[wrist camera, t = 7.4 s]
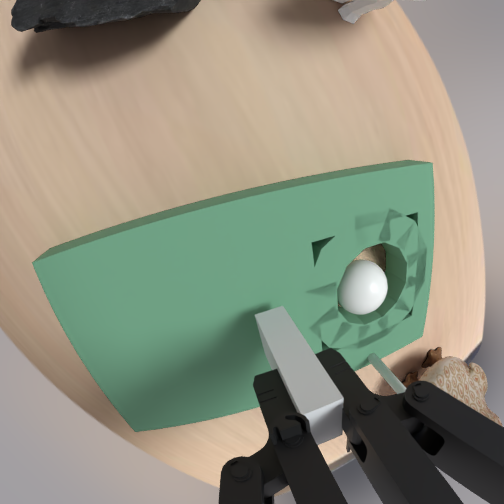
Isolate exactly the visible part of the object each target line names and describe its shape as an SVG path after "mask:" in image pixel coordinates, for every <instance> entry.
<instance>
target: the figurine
mask: <svg viewBox="0 0 504 504" xmlns="http://www.w3.org/2000/svg"><path fill="white" fill-rule="evenodd" d="M441 351H442V350H441V347H439V348H437V350H436V351H434V350H430V351H429V352H428V358H427V360H426V361H425V362H424V363H423V365H422V367H423V368H426V367H430V368H429V369H427V370H426V371H425V372H424V374H423V375H422V376H421V378H420V379H419V380H420V381H427V382H430V383H432V384H433V385H435V386H437V387H438V388H440V389H441V390H443V391H445V392H446V393H448V394H450V395H451V396H453V397H454V398H456V399H458V400H459V401H461V402H463V403H464V404H466V405H467V406H469V407H471V408H472V409H474V410H476V411H477V412H479V413H481V414H482V415H484V416H486V417H487V418H489V419H491V420H492V421H494V422H496V423H497V424H499V425H501V426H502V423H501V421H500V419H499V417H498V416H497V415H496V414H494V413H493V412H491V411H490V409H488V407H487V405H486V402H485V399H484V395H485V393H486V391H487V379H486V375H485V373H484V371H483V370H482V368H481V367H480V366H479V365H477V364H475V363H470V364H469V366H468V365H467V364H466V363H465V362H464V361H462V360H461V359H459V358H456V357H451V356H449V357H445V358H442V357H441ZM469 367H470V368H469ZM417 375H418V372H414V373H413V374H411V373H409V374H408V375H407V376H406V380H405V381H404V382H403V383H402V384H403V385H404V386H405V387H406V388H407V387H408V385H410V384H411V383H413V382H416V381H419V380H418V379H417ZM502 427H503V426H502Z"/></svg>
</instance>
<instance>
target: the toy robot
mask: <svg viewBox="0 0 504 504" xmlns="http://www.w3.org/2000/svg"><path fill="white" fill-rule="evenodd" d="M334 1H337V2H339V3H344V2H347V1H349V0H334ZM392 1H394V0H353V1H351V2H349V3H347V4H345V5H343V6H342V7H341V8H340V9H339V10H338V11H339V13H340V15H341V17H342V19H343V20H345V21H348V22H350V23H353V24H354V23H355V22H356V21H357V20H358V19H359V17H360V16H361V15H362V14H365V13H368V12H370V11H372V10H375V9H381V8H384V7H386V6H387V5H388V4H390V3H391V2H392ZM415 1H425V0H415Z"/></svg>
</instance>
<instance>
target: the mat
mask: <svg viewBox="0 0 504 504" xmlns="http://www.w3.org/2000/svg"><path fill="white" fill-rule="evenodd" d="M380 243H381V244H382V246H383V247H384V249H385V251H386V271H385V273H384V274H385V276H386V279H387V285H388V289H387V294H386V297H385V299H384V301H383V303H382V304H381V305H380V306H379V307H378V308H377V309H376V310H374V311H372V312H370V313H367V314H361V315H359V314H353V313H350V312H348V311H347V310H345V309H344V308H343V307H340V306H338V299H337V288H338V286H339V284H340V281H341V279H342V277H343V274H344V272H345V269H346V267H347V266H348V265H349V264H350V263H351V262H352V261H353V260H354V259H355V258H356V257H357V256H358V255H359V254H360V253H361V252H362V251H363V250H364V249H365V248H368V247H371V246H374V245H377V244H380ZM433 248H434V179H433V164H432V163H430V162H422V161H414V160H404V161H397V162H390V163H383V164H376V165H370V166H363V167H357V168H351V169H345V170H339V171H334V172H328V173H323V174H317V175H312V176H307V177H302V178H297V179H292V180H287V181H283V182H278V183H273V184H269V185H264V186H260V187H255V188H251V189H247V190H242V191H238V192H234V193H230V194H226V195H222V196H218V197H214V198H210V199H206V200H202V201H198V202H195V203H191V204H187V205H184V206H180V207H176V208H173V209H169V210H166V211H162V212H159V213H155V214H152V215H149V216H145V217H142V218H139V219H135V220H132V221H129V222H126V223H122V224H119V225H116V226H113V227H110V228H107V229H104V230H101V231H98V232H95V233H92V234H89V235H86V236H83V237H80V238H77V239H75V240H72V241H69V242H66V243H63V244H61V245H58V246H55V247H53V248H50V249H49V250H47V251H46V252H45V253H44V254H42V255H41V256H40V257H39V258H37V259H36V260H35V261H34V262H32V264H33V266H34V269H35V271H36V273H37V276H38V278H39V281H40V283H41V285H42V287H43V290H44V292H45V294H46V296H47V298H48V300H49V302H50V305H51V307H52V309H53V311H54V313H55V315H56V316H57V318H58V320H59V322H60V324H61V326H62V328H63V330H64V331H65V333H66V335H67V337H68V338H69V340H70V342H71V344H72V345H73V347H74V349H75V350H76V352H77V354H78V355H79V357H80V358H81V360H82V362H83V363H84V365H85V366H86V368H87V369H88V371H89V372H90V374H91V375H92V377H93V378H94V380H95V381H96V383H97V384H98V385H99V387H100V388H101V390H102V391H103V392H104V394H105V395H106V396H107V398H108V399H109V400H110V402H111V403H112V404H113V406H114V407H115V408H116V409H117V411H118V412H119V413H120V414H121V416H122V417H123V418H124V419H125V421H126V422H127V423H128V424H129V425H130V426H131V428H132V429H133V430H134V431H135V432H139V431H147V430H155V429H162V428H168V427H174V426H180V425H185V424H191V423H196V422H201V421H205V420H210V419H214V418H219V417H223V416H227V415H231V414H235V413H239V412H242V411H246V410H250V409H253V408H257V407H260V405H259V402H258V399H257V396H256V393H255V390H254V387H253V382H254V377H255V376H256V375H259V374H262V373H265V372H268V371H271V370H272V369H271V366H270V364H269V362H268V360H267V357H266V355H265V352H264V348H263V345H262V341H261V337H260V333H259V329H258V326H257V322H256V318H255V314H258V313H262V312H265V311H268V310H271V309H274V308H277V307H280V306H283V307H284V308H285V310H286V311H287V313H288V314H289V316H290V317H291V319H292V320H293V322H294V323H295V325H296V326H297V328H298V329H299V331H300V333H301V334H302V336H303V337H304V339H305V340H306V342H307V343H308V345H309V346H310V348H311V349H312V351H313V352H314V354H316V353H319V352H321V351H324V350H326V349H329V348H332V349H334V350H336V351H338V352H339V353H341V355H342V356H343V357H344V359H345V360H346V362H348V364H349V365H350V366H351V368H352V369H353V370H354V371H356V370H358V369H361V368H363V367H365V366H367V365H369V364H372V365H373V366H374V367H375V369H376V370H377V371H378V372H379V373H380V374H381V376H382V377H383V378H384V379H385V380H386V381H387V383H388V384H389V385H390V386H391V387H392V388H393V390H394V391H395V392H396V393H397V394H399V393H403V392H405V390H406V387H405V386H404V385H403V384H402V383H401V382H400V381H399V379H398V378H397V377H396V376H395V375H394V374H393V373H392V372H391V371H390V369H389V368H388V367H387V366H386V365H385V364H384V363H383V362H382V361H381V360H380V359H381V358H383V357H385V356H387V355H389V354H391V353H393V352H395V351H397V350H399V349H401V348H403V347H404V346H406V345H408V344H410V343H412V342H413V341H415V340H417V339H419V338H420V337H422V336H423V330H424V325H425V319H426V313H427V307H428V300H429V292H430V284H431V274H432V263H433Z"/></svg>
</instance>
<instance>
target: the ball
mask: <svg viewBox="0 0 504 504" xmlns="http://www.w3.org/2000/svg"><path fill="white" fill-rule="evenodd" d="M387 289H388V285H387V279H386V276H385V274H384V272H383V270H382V269H381V268H380V267H379V266H378V265H377V264H375V263H374V262H372V261H369V260H363V259H362V260H355V261H352V262H351V263H350V264H349V265H348V266H347V267H346V269H345V272H344V274H343V277H342V279H341V281H340V284H339V286H338V288H337V299H338V302H339V304H340V305H341V306H342V307H343V308H344V309H345V310H347V311H348V312H350V313H353V314H359V315H361V314H367V313H370V312H372V311H374V310H376V309H377V308H378V307H379V306H380V305H381V304H382V303H383V301H384V299H385V297H386V294H387Z"/></svg>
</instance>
